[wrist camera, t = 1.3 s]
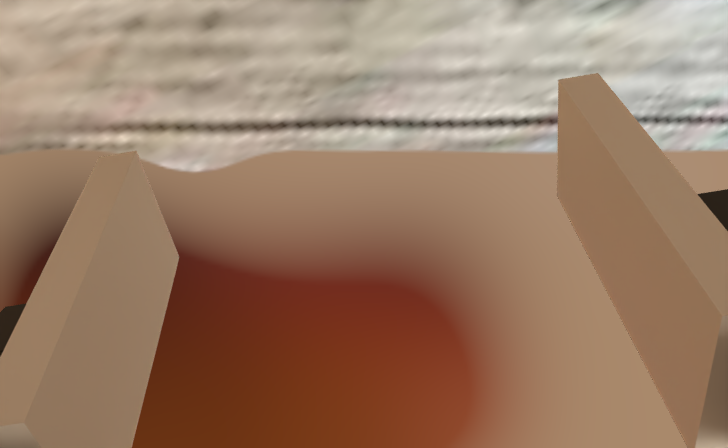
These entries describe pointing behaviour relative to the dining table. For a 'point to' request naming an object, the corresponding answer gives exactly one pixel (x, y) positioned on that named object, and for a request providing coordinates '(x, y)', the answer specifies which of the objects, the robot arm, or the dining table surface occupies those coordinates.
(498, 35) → the dining table surface
